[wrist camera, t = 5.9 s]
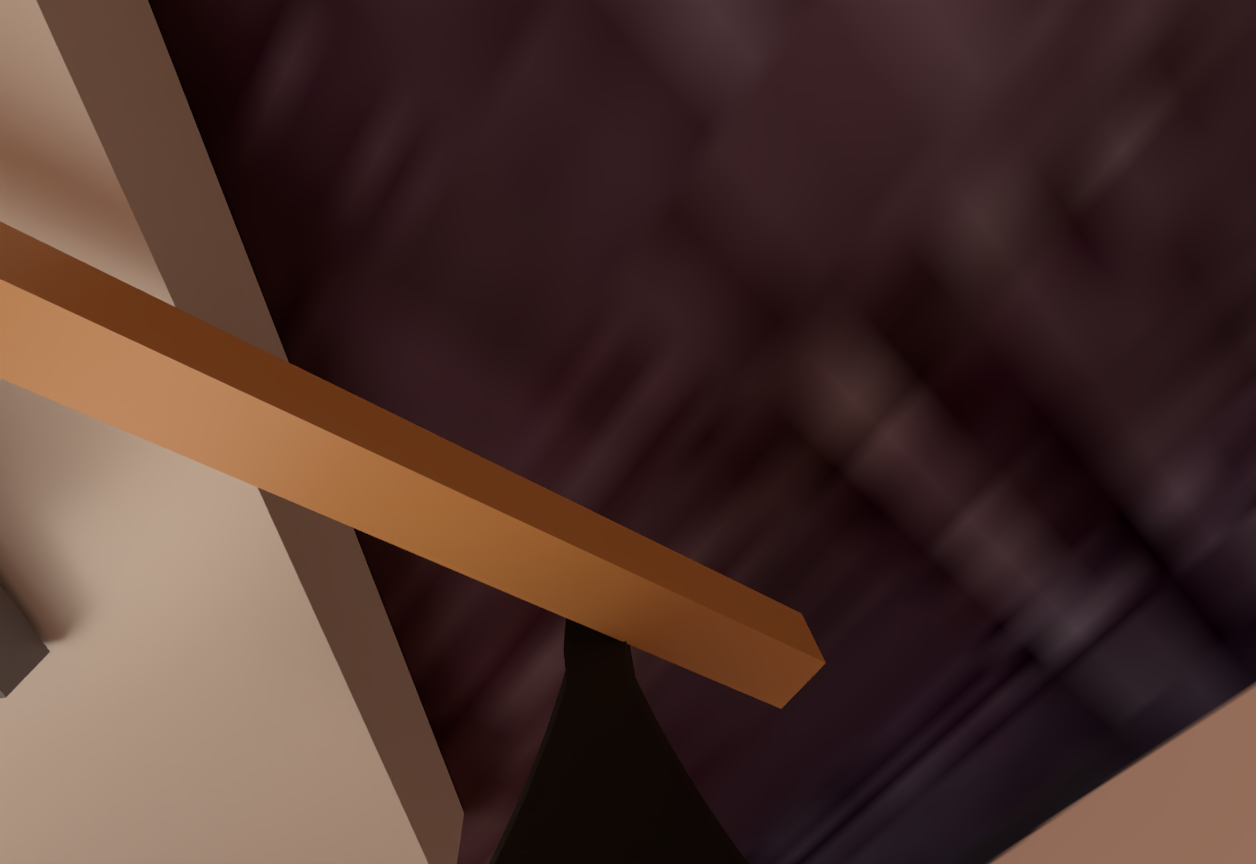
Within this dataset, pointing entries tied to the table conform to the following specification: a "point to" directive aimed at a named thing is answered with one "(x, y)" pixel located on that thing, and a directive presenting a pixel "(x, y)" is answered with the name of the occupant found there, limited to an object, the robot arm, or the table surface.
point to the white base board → (177, 534)
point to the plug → (16, 646)
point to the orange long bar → (376, 471)
